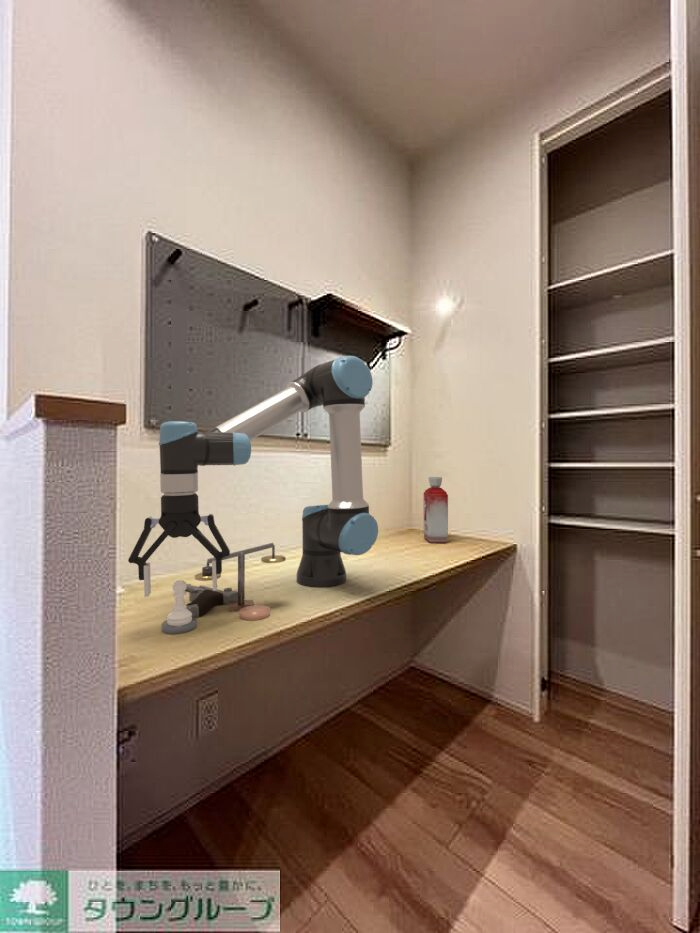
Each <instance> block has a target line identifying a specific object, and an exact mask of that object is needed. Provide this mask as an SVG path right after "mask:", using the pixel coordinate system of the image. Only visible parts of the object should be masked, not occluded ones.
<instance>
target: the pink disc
mask: <svg viewBox="0 0 700 933" xmlns="http://www.w3.org/2000/svg"><path fill="white" fill-rule="evenodd" d="M270 615H271V609H270V607H269V606H266V605H261V604H257V605H256V604H254V605H252V606H246V607H243V608H241V609H240V610H239V611H238V616H239V619H241V620H244V621H259V620H261V621H262V620H264V619H266V618H269V616H270Z"/></svg>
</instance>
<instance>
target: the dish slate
mask: <svg viewBox="0 0 700 933" xmlns="http://www.w3.org/2000/svg"><path fill="white" fill-rule="evenodd" d="M197 624H198V619H197V617H192V621H191V622H190V623H188V624H186V625H182V626H170V625H168V624H167V619H166V620H164V621H163V622H161V632H162V633H163V634H167V635H180V634H185V633H188V632H191V631H194V630H195V629H196V628H197V626H198V625H197Z"/></svg>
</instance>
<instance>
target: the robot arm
mask: <svg viewBox="0 0 700 933" xmlns="http://www.w3.org/2000/svg"><path fill="white" fill-rule="evenodd" d="M372 388H373V374H372V372H371V369H370V368H369V366H368V365H367V364H365V362H364V361H363V360H362V359H361V358H359V357H357V356H355V355H345V356H339V357H337V358H335V359H332V360H330V361H327V362H324V363H320V364H318V365H315V366H313V367H312V368H310V369H309V370H308V371H305V373H303V374H302V375H300V376H298V377H296V378H295V379H294V380H292V381H290V382H288V383H287V385H286V388H285V389H282V390H281V391H279V392H276V394H273V395H272V396H270V397H268V398H267V399H265V400H263V401H261V402H259V403H258V404H257V403H256V404H255V405H253V406H252V407H250V408H248V409H246V410H244V411H242V412H241V413H239V414H237V415H234V416H233V417H231V418H230V419H227V421H224V422H222V423H220V424H219V425H217V426H215V427H214V428H212V429H210V430H208V431H205V432H204V431H199V430H198V427H197V423H195V422H192V421H180V420H177V421H175V420H171V421H165V422H163V423H162V424H161V425H160V426H159V438H158V439H159V442H158V445H159V461H160V462H159V464H160V466H159V467H160V474H159V478H160V480H159V481H160V482H159V484H160V493H161V494H163V495H161V496H160V512H161V513H160V517H158V518H157V517H152V516H148V517H146V518H145V519H144V525H143V529H142V532H141V534H140V535H139V537H138V540H137V542H136V544H135V545H134V548H133V550H132V551H131V554H130V555H129V557H128V560H127V561H128V563H129V564H134V565H137V568H138V569H137V570H138V571H137V572H138V580H139V581H143V586H144V587H143V589H144V590H143V591H144V592H143V593H144V594H143V596H144V598H147V597H149V596H150V594H151V593H152V590H151V588H152V587H151V586H152V584H151V580H152V579H151V562H147V561H148V560H149V559H150V558H151V556H152V555H153V554H154V553H155V552H156V551H157V549H158V548H159V547H160V545H161V544H162V543H163V542H164V541H165V540H166V539H167V537H170V538H172V539H174V538H175V539H176V538H177V539H178V538H179V537H180V538H188V537H190V536H191V535H192V536H193V538H194V539H196V540H197V541H198V542H199V543H200V544H201V545H202V546H203V547H204V548H205V549H206V550H207V551H208V552H209V554H211V556H213V557H212V558H213V559H212V563H211V565H212V578H213V580H212V588H213V591H216V590H218V589H217V588H218V582H217V581H218V579H217V574H221V575H222V570H223V560H222V558H224V557H226V556H229V555H230V553H231V550H230V548H229V546H228V545H227V543H226V542H225V539H224V538H223V536H222V534H221V532H220V530H219V529H218V527H217V525H216V523H215V516H214V514H212V513H209V514H207V515H202V516H201V515H200V512H199V495H198V494H197V493H196V492H198V491H199V470H198V466H201V467H203V466H204V467H205V466H238V465H239V466H240V465H241V466H242V465H245V464H247V463H249V460H250V458H251V456H252V442H251V441H252V440H253V439H256V438H257V437H259V436H261V435H263V434H264V433H266V432H268V431H269V430H271V429H272V428H274V427H275V426H276V427H277V425H279V424H281V423H283V422H285V421H286V420H288V419H289V418H291V417H293V416H294V415H296V414H298V413H306V412H308V411H309V410H312V409H314V408H317V407H321V406H322V408H323V409H324V411H325V412H326V413H327V414H328V419H329V421H328V424H329V442H330V443H329V447H330V449H329V450H330V470H331V472H330V473H331V495H332V496H331V497H332V499H331V501H330V502H329V503H328V504H319V505H308V506H305V507H304V508H303V509H302V518H301V522H302V531H301V532H302V555H301V556H302V557H301V560H300V562H299V565H298V568H297V571H296V582H297V583H298V584H299V585H303V586H307V587H316V588H317V587H318V588H321V587H322V588H325V587H334V586H338V585H342V584H344V583H345V582H346V581H347V571H346V568H345V565H344V562H343V559H342V555H341V553H343V554H345V555H351V556H362V555H364V554H367V552H369V551H370V550H371V548H372V546H374V545H375V543H376V541H377V538H378V536H379V525H378V521H377V519H375V516H373V515H371V514H370V505H369V503H368V502H367V501H366V499H364V488H363V484H364V483H363V466H362V463H363V462H362V460H363V459H362V458H363V457H362V436H361V412H362V411H363V410H364V408H366V402H365V400H366V399H365V398H366V397H367V396H368V395H369V394H370V392H371V390H372ZM201 522H202V523H204V525H205V526H208V528H209V530H210V532H211V534H212V536H213V537H214V540H215V541H216V543H217V544H218V547H219V548H220V550H221V551H220V550H219V549H218V548H216V546H215V545H214V544H213V543H212V542H211V541H210V540H209V538H207V537H206V536H205V535H204V533H202V531H201V530H200V529H198V527H199V525H200V524H201ZM157 525H159V527H161V528H162V530H163V531H162V533H161V534H160V535H159V536H158V537H157V539H156V540H155V541H154V542H153V543H152V545H151V546H150V547H149V548H148V549H147V550H146V551H145V553H143V555H142V556H139V555H140V553H141V552H142V550H143V547H144V546H145V544H146V542H147V539H148V538H149V536H150V533H151V531H152V529H154V528H156V526H157ZM214 557H215V558H214Z"/></svg>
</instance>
